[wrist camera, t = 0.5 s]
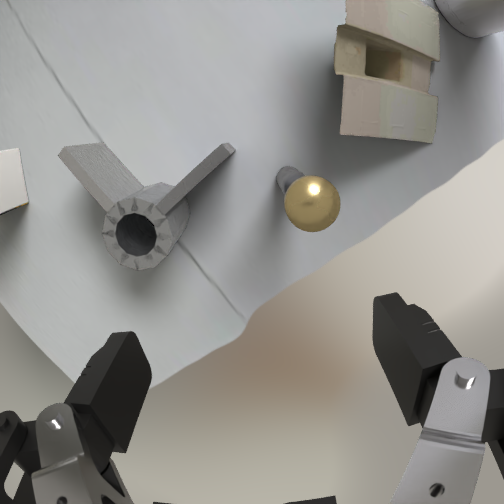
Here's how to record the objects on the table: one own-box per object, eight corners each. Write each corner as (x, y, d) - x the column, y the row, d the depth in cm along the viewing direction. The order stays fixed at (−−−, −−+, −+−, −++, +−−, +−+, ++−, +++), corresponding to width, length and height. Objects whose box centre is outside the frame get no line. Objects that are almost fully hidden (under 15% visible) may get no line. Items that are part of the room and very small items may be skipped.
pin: (290, 154, 30) (317, 165, 18) (311, 180, 31) (350, 208, 19) (264, 176, 31) (273, 201, 19) (286, 201, 31) (308, 242, 19)
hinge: (167, 77, 27) (141, 60, 19) (252, 169, 30) (253, 179, 23) (84, 166, 30) (42, 176, 22) (161, 250, 33) (138, 282, 26)
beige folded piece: (374, 6, 27) (293, -37, 18) (440, 10, 21) (383, -50, 12) (369, 127, 35) (290, 130, 26) (434, 143, 29) (379, 150, 20)
